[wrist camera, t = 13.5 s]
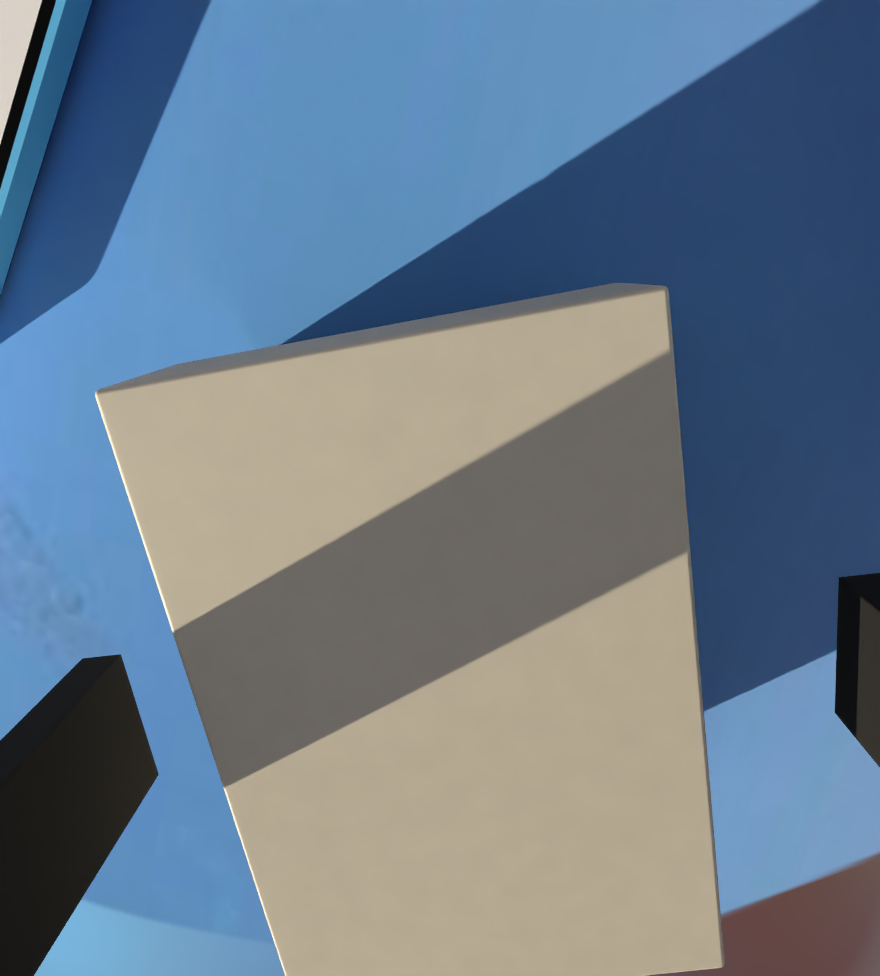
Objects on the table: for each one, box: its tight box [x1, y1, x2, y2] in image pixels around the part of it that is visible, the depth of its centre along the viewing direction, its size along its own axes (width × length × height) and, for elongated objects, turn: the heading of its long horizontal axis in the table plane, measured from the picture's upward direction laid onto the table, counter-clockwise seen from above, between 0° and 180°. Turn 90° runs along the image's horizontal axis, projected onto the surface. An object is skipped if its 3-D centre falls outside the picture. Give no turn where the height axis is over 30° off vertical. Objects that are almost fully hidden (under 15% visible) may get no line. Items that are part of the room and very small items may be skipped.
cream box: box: [95, 283, 724, 976], centre depth 13 cm, size 8×12×3 cm, turn 10°
